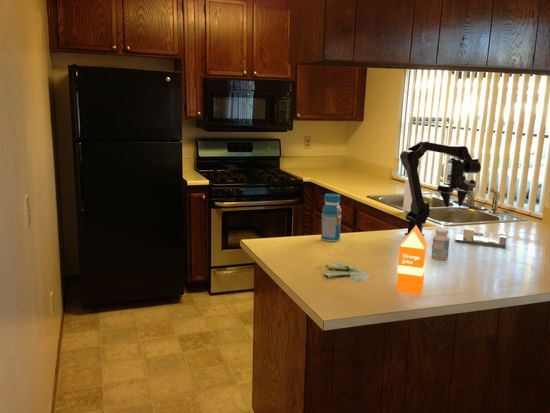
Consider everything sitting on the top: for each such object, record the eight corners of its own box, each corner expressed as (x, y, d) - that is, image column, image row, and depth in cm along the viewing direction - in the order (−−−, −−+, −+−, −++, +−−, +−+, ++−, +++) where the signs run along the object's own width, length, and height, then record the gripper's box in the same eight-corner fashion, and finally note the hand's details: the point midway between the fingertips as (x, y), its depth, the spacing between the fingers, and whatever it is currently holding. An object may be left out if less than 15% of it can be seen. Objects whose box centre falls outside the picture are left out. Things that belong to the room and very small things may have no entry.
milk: (411, 214, 274) (414, 174, 269) (402, 212, 278) (405, 173, 274) (418, 213, 277) (421, 174, 273) (409, 211, 282) (412, 172, 278)
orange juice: (395, 291, 155) (400, 229, 151) (399, 282, 163) (403, 223, 159) (421, 294, 152) (426, 231, 148) (423, 285, 160) (428, 225, 157)
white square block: (462, 239, 214) (463, 230, 213) (463, 235, 221) (464, 226, 221) (482, 241, 211) (483, 232, 210) (483, 237, 218) (484, 228, 217)
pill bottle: (442, 255, 195) (445, 227, 193) (450, 260, 189) (453, 231, 187) (428, 255, 194) (430, 228, 192) (436, 260, 188) (438, 231, 186)
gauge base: (455, 242, 216) (455, 232, 215) (456, 236, 225) (457, 227, 224) (505, 247, 208) (506, 237, 207) (505, 242, 217) (506, 232, 216)
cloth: (372, 286, 161) (372, 279, 160) (305, 281, 164) (305, 274, 164) (371, 267, 180) (371, 261, 180) (311, 263, 184) (312, 257, 184)
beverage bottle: (324, 242, 211) (326, 196, 207) (318, 237, 219) (320, 193, 215) (342, 241, 212) (345, 196, 209) (336, 236, 220) (338, 192, 217)
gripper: (458, 175, 215) (454, 211, 218) (485, 174, 224) (481, 208, 227) (438, 172, 224) (434, 206, 227) (464, 171, 234) (460, 204, 237)
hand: (453, 206), depth 229 cm, fingers open, 9 cm apart
